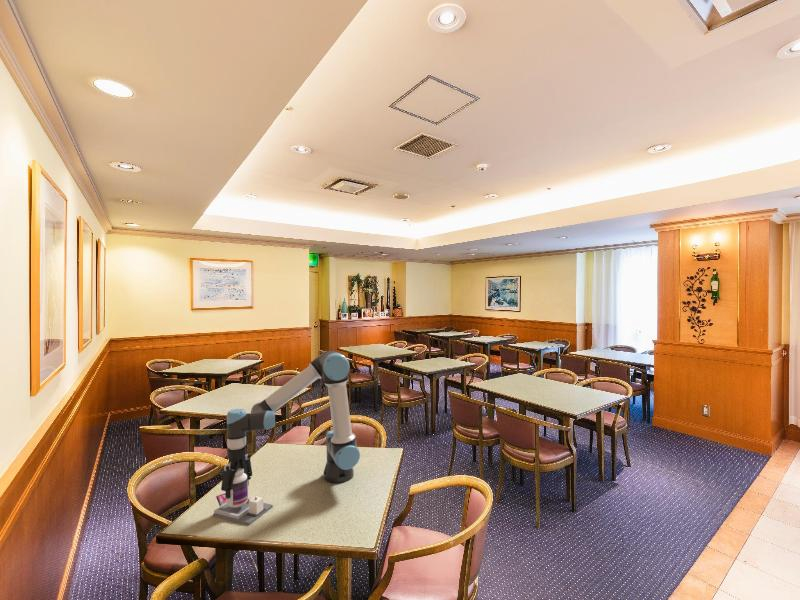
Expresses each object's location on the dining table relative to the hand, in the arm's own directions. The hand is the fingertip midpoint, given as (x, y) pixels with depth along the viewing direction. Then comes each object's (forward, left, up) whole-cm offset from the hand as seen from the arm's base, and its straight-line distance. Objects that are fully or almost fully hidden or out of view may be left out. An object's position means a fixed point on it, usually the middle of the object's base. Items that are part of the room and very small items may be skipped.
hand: (237, 499), depth 165 cm
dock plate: (-3, 0, -5) cm, 5 cm away
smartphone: (+10, -5, -5) cm, 13 cm away
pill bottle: (0, 0, -2) cm, 2 cm away
